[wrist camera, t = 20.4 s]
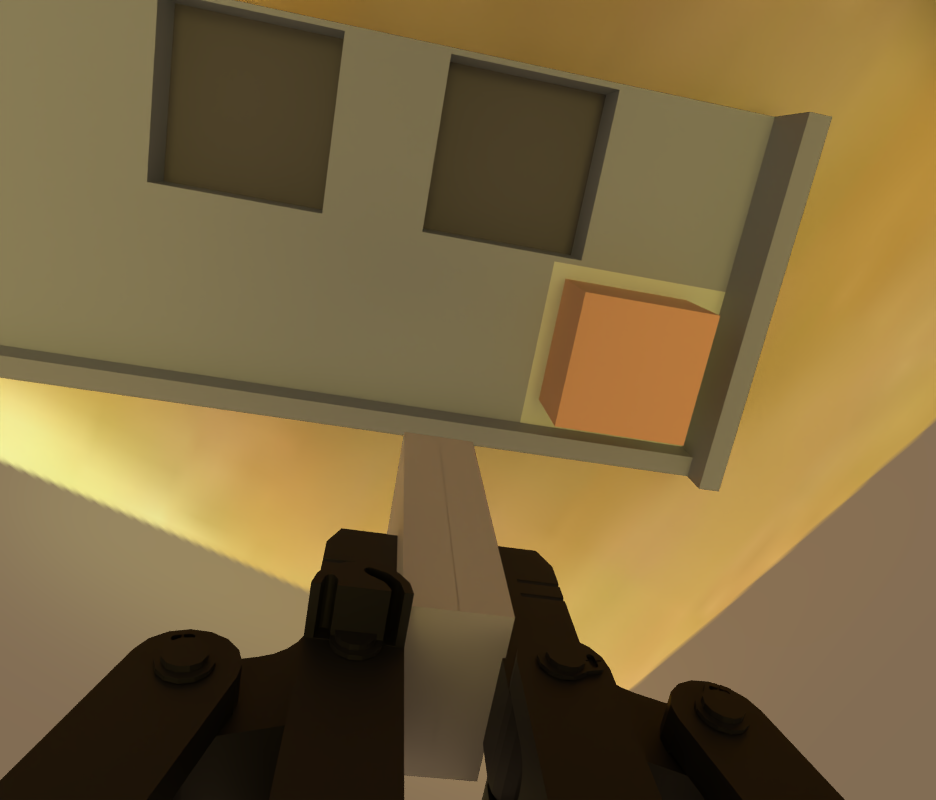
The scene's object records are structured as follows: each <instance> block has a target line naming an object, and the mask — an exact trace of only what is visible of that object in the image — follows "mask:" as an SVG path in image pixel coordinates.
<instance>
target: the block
mask: <svg viewBox="0 0 936 800" xmlns="http://www.w3.org/2000/svg"><path fill="white" fill-rule="evenodd" d="M719 318H720V315H718V314H715V313H713V312H711V311H709V310H707V309H705V308H702V307H700V306H698V305H696V304H694V303H691V302H689V301H687V300H683V299H677V298H672V297H666V296H661V295H655V294H649V293H644V292H638V291H632V290H627V289H621V288H616V287H610V286H604V285H599V284H593V283H587V282H582V281H576V280H571V279H565V283H564V288H563V292H562V297H561V301H560V306H559V311H558V315H557V320H556V324H555V329H554V333H553V338H552V342H551V347H550V351H549V356H548V360H547V365H546V369H545V374H544V379H543V383H542V388H541V392H540V397H539V401H540V402H541V404H542V406H543V407H544V409H545V411H546V412H547V414H548V416H549V418H550V419H551V421H552V423H553V424H554V426H555V427H561V428H568V429H575V430H582V431H588V432H595V433H602V434H608V435H615V436H622V437H628V438H635V439H642V440H648V441H655V442H662V443H668V444H675V445H682V446H683V445H684V442H685V438H686V435H687V431H688V428H689V424H690V421H691V417H692V414H693V410H694V407H695V403H696V400H697V396H698V393H699V389H700V385H701V382H702V378H703V375H704V371H705V368H706V364H707V361H708V357H709V354H710V350H711V347H712V343H713V340H714V336H715V333H716V329H717V325H718V322H719Z"/></svg>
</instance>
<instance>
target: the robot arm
mask: <svg viewBox="0 0 936 800" xmlns="http://www.w3.org/2000/svg"><path fill="white" fill-rule="evenodd" d="M483 753H484V755H485V763H486V770H487V781H486V785H485V789H484V793H483V797H482V800H844V798H843V797H842V796H841V795H840V794H839V793H838V792H837V791H836V790H835V789H834V788H833V787H832V786H831V785H830V784H829V783H828V781H827V780H826V779H825V778H824V777H823V776H822V775H821V774H820V773H819V772H818V771H817V770H816V769H815V768H814V767H813V766H812V764H811V763H810V762H809V761H808V760H807V759H806V758H805V757H804V756H803V755H802V754H801V753H800V752H799V751H798V750H797V748H796V747H795V746H794V745H793V744H792V743H791V742H790V741H789V740H788V739H787V738H786V737H785V736H784V735H783V734H782V733H781V732H780V730H779V729H778V728H777V727H776V726H775V725H774V724H773V723H772V722H771V721H770V720H769V719H768V718H767V717H766V716H765V714H763V712H762V711H761V710H759V709H758V708H757V707H756V706H755V705H754V704H752V703H751V702H750V701H749V700H748V699H746V698H745V697H743V696H741V695H740V694H738V693H736V692H734V691H732V690H731V689H729V688H727V687H724V686H722V685H717V684H715V683H711V682H705V681H692V680H691V681H687V682H684V683H680V684H678V685H677V686H676V687H675V688H674V689H673V690H672V691H671V694H670V696H669V700H668V703H663V702H660V701H657V700H654V699H651V698H648V697H645V696H642V695H639V694H636V693H633V692H631V691H628V690H626V689H623V688H621V687H619V686H617V685H616V683H615V680H614V678H613V675H612V673H611V670H610V668H609V667H608V666H607V664H606V663H605V661H604V660H603V658H602V657H601V656H600V655H598V654H597V653H596V652H595V651H593V650H592V649H591V648H590V647H588V646H586V645H584V644H581V643H580V642H579V639H578V636H577V634H576V631H575V628H574V625H573V623H572V620H571V617H570V614H569V612H568V609H567V606H566V603H565V601H563V595H562V592H561V590H560V587H558V581H557V579H556V576H555V573H554V570H553V568H552V566H551V565H550V564H549V563H548V562H547V561H546V560H545V559H544V558H542V557H541V556H540V555H539V554H538V553H537V552H536V551H532V550H524V549H516V548H508V547H500V546H498V545H497V541H496V537H495V532H494V528H493V524H492V520H491V516H490V512H489V507H488V503H487V499H486V495H485V491H484V487H483V483H482V478H481V474H480V470H479V466H478V462H477V458H476V453H475V449H474V445H473V442H470V441H464V440H457V439H450V438H443V437H436V436H429V435H422V434H415V433H409V432H404V437H403V443H402V449H401V455H400V461H399V466H398V472H397V478H396V484H395V490H394V496H393V502H392V508H391V514H390V520H389V526H388V532H387V534H381V533H374V532H366V531H358V530H350V529H340V530H339V531H338V532H337V533H336V534H335V535H333V536H332V537H331V538H330V539H329V540H328V541H327V543H326V547H325V552H324V557H323V562H322V566H321V570H320V571H319V572H317V574H316V575H315V577H314V579H313V580H312V582H311V588H310V596H309V603H308V611H307V617H306V625H305V632H304V636H303V637H302V638H301V639H300V640H299V641H298V642H297V643H295V644H294V645H292V646H291V647H289V648H288V649H285V650H283V651H280V652H277V653H275V654H271V655H266V656H260V657H253V658H245V659H241V656H240V652H239V649H237V647H236V646H235V645H233V643H231V642H230V641H229V640H228V639H226V638H224V637H222V636H219V635H217V634H215V633H212V632H207V631H199V630H192V629H189V630H179V631H169V632H166V633H163V634H161V635H157V636H154V637H151V638H149V639H147V640H146V641H144V642H143V643H141V644H140V645H138V646H137V647H135V648H134V649H133V650H132V651H131V652H130V653H129V654H128V655H127V656H126V657H125V658H124V659H123V660H122V661H121V662H120V663H119V664H118V665H116V667H114V669H113V670H111V671H110V672H109V673H108V675H107V676H105V677H104V678H103V679H102V680H101V681H100V682H99V683H98V684H97V685H96V686H95V687H94V688H93V689H92V690H91V691H90V692H89V693H88V694H87V695H86V696H85V697H84V698H83V699H82V700H81V701H80V702H79V703H78V704H77V705H76V706H75V707H74V708H73V709H72V710H71V711H70V712H69V713H68V714H67V715H66V716H65V717H64V718H63V719H62V720H61V721H60V722H59V723H58V724H57V725H56V726H55V727H54V728H53V729H52V730H51V731H50V732H49V733H48V734H47V735H46V736H45V737H44V738H43V739H42V740H41V741H40V742H39V743H38V744H37V745H36V746H35V747H34V748H33V749H32V750H31V751H29V753H27V754H26V756H24V757H23V758H22V760H20V762H18V763H17V764H16V765H15V766H14V767H13V768H12V769H11V770H10V771H9V772H8V773H7V774H6V775H5V776H4V777H3V778H2V779H1V780H0V800H404V775H407V776H419V777H431V778H443V779H455V780H467V781H477V779H478V774H479V771H480V766H481V761H482V757H483Z"/></svg>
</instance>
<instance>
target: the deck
mask: <svg viewBox="0 0 936 800" xmlns="http://www.w3.org/2000/svg"><path fill="white" fill-rule="evenodd" d="M831 119H832V117H831V116H826V115H822V114H817V113H813V112H806V113H799V114H792V115H785V116H778V117H773V116H768V115H764V114H759V113H754V112H750V111H745V110H740V109H736V108H731V107H726V106H722V105H717V104H713V103H708V102H703V101H699V100H694V99H689V98H685V97H680V96H676V95H671V94H666V93H662V92H657V91H652V90H648V89H643V88H638V87H634V86H629V85H625V84H620V83H615V82H611V81H606V80H601V79H597V78H592V77H587V76H583V75H578V74H574V73H569V72H564V71H560V70H555V69H550V68H546V67H541V66H536V65H532V64H527V63H523V62H518V61H513V60H509V59H504V58H499V57H495V56H490V55H485V54H481V53H476V52H472V51H467V50H462V49H458V48H453V47H448V46H444V45H439V44H434V43H430V42H425V41H421V40H416V39H411V38H407V37H402V36H397V35H393V34H388V33H383V32H379V31H374V30H370V29H365V28H360V27H356V26H351V25H346V24H342V23H337V22H333V21H328V20H323V19H319V18H314V17H309V16H305V15H300V14H295V13H291V12H286V11H282V10H277V9H272V8H268V7H263V6H258V5H254V4H249V3H244V2H240V1H235V0H0V378H7V379H14V380H21V381H28V382H35V383H42V384H49V385H56V386H63V387H70V388H77V389H84V390H91V391H98V392H105V393H112V394H119V395H126V396H133V397H140V398H147V399H154V400H161V401H168V402H174V403H181V404H188V405H195V406H202V407H209V408H216V409H223V410H230V411H237V412H244V413H251V414H258V415H265V416H272V417H279V418H286V419H293V420H300V421H307V422H314V423H321V424H328V425H335V426H342V427H349V428H355V429H362V430H369V431H376V432H383V433H390V434H397V435H404V432H409V433H415V434H422V435H429V436H436V437H443V438H450V439H457V440H464V441H470V442H473V445H474V446H481V447H488V448H495V449H502V450H509V451H516V452H523V453H529V454H536V455H543V456H550V457H557V458H564V459H571V460H578V461H585V462H592V463H599V464H606V465H613V466H620V467H627V468H634V469H641V470H648V471H655V472H662V473H669V474H676V475H683V476H688V477H689V478H690V479H691V481H692V482H693V483H694V484H695V485H696V486H697V487H698V488H699V489H705V490H712V491H719V489H720V486H721V482H722V479H723V476H724V472H725V469H726V466H727V463H728V459H729V456H730V453H731V449H732V446H733V443H734V439H735V436H736V433H737V430H738V426H739V423H740V420H741V416H742V413H743V410H744V406H745V403H746V400H747V397H748V393H749V390H750V387H751V383H752V380H753V377H754V373H755V370H756V367H757V363H758V360H759V357H760V354H761V350H762V347H763V344H764V340H765V337H766V334H767V330H768V327H769V324H770V321H771V317H772V314H773V311H774V307H775V304H776V301H777V297H778V294H779V291H780V288H781V284H782V281H783V278H784V274H785V271H786V268H787V264H788V261H789V258H790V255H791V251H792V248H793V245H794V241H795V238H796V235H797V231H798V228H799V225H800V222H801V218H802V215H803V212H804V208H805V205H806V202H807V198H808V195H809V192H810V188H811V185H812V182H813V179H814V175H815V172H816V169H817V165H818V162H819V159H820V155H821V152H822V149H823V146H824V142H825V139H826V136H827V132H828V129H829V126H830V122H831ZM565 279H571V280H576V281H582V282H587V283H593V284H599V285H604V286H610V287H616V288H621V289H627V290H632V291H638V292H644V293H649V294H655V295H661V296H666V297H672V298H677V299H683V300H687V301H689V302H691V303H694V304H696V305H698V306H700V307H702V308H705V309H707V310H709V311H711V312H713V313H715V314H718V315H720V318H719V322H718V325H717V329H716V333H715V336H714V340H713V343H712V347H711V350H710V354H709V357H708V361H707V364H706V368H705V371H704V375H703V378H702V382H701V385H700V389H699V393H698V396H697V400H696V403H695V407H694V410H693V414H692V417H691V421H690V424H689V428H688V431H687V435H686V438H685V442H684V445H683V446H682V445H675V444H668V443H662V442H655V441H648V440H642V439H635V438H628V437H622V436H615V435H608V434H602V433H595V432H588V431H582V430H575V429H568V428H561V427H555V426H554V424H553V423H552V421H551V419H550V418H549V416H548V414H547V412H546V411H545V409H544V407H543V406H542V404H541V402H540V401H539V397H540V392H541V388H542V383H543V379H544V374H545V369H546V365H547V360H548V356H549V351H550V347H551V342H552V338H553V333H554V329H555V324H556V320H557V315H558V311H559V306H560V301H561V297H562V292H563V288H564V283H565Z"/></svg>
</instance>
